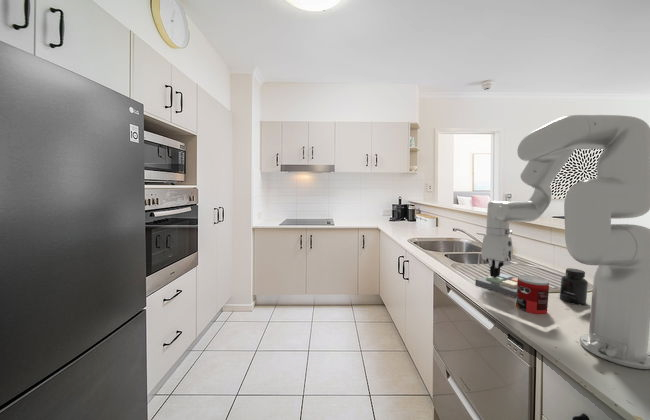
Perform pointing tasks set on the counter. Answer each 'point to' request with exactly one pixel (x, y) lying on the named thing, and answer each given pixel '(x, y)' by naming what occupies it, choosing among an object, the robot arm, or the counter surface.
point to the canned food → (532, 294)
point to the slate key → (505, 277)
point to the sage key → (495, 279)
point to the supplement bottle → (574, 287)
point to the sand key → (510, 284)
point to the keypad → (496, 287)
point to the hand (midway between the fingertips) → (494, 276)
